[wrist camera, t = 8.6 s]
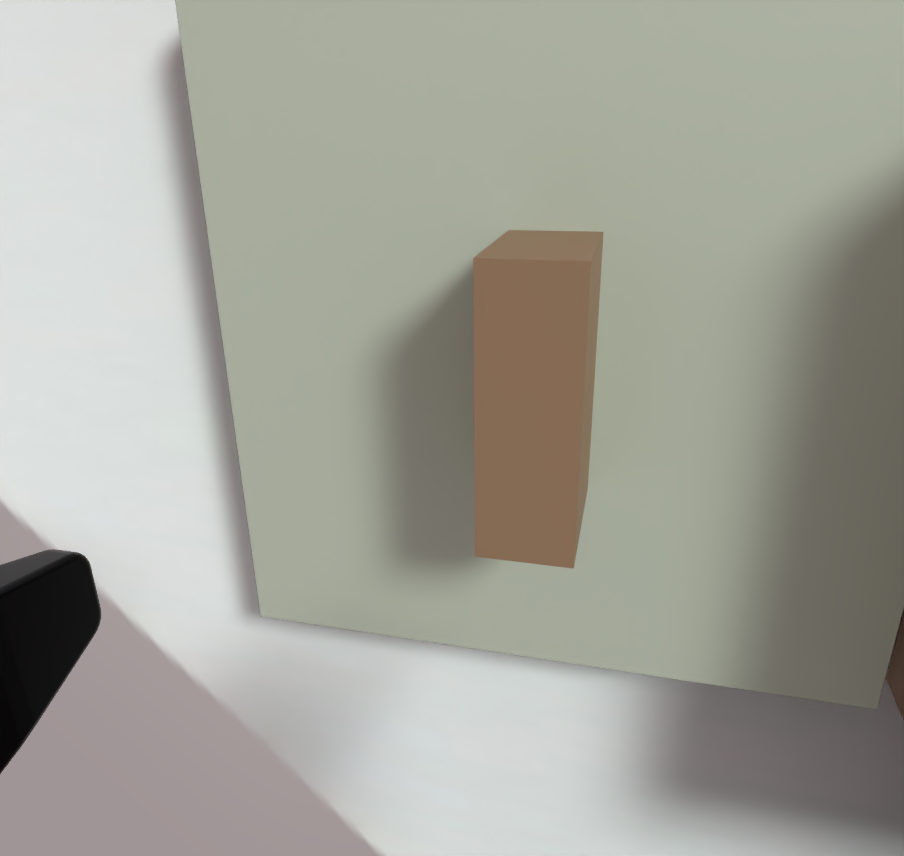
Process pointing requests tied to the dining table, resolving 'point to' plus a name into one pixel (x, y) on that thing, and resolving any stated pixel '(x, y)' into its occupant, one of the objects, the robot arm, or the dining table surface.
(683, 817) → the dining table surface
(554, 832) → the dining table surface
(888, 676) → the bread box
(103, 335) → the dining table surface
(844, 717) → the dining table surface
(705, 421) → the lid
